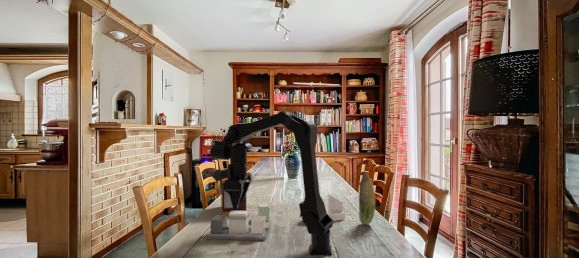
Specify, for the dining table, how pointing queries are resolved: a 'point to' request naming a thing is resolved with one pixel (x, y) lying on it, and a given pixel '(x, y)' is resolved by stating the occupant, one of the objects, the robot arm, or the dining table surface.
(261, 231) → the rail
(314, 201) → the robot arm
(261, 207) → the green block
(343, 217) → the white angled block
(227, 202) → the supplement box
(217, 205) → the dining table surface
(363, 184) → the vegetable
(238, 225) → the block
